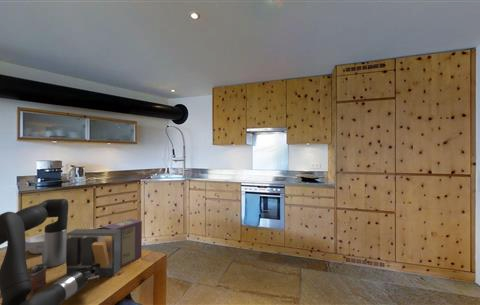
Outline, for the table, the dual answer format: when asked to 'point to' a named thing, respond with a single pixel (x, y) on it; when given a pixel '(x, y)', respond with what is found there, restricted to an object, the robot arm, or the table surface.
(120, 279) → the table surface
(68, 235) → the box
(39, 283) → the lighter
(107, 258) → the panel
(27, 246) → the paper bowls
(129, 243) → the box
